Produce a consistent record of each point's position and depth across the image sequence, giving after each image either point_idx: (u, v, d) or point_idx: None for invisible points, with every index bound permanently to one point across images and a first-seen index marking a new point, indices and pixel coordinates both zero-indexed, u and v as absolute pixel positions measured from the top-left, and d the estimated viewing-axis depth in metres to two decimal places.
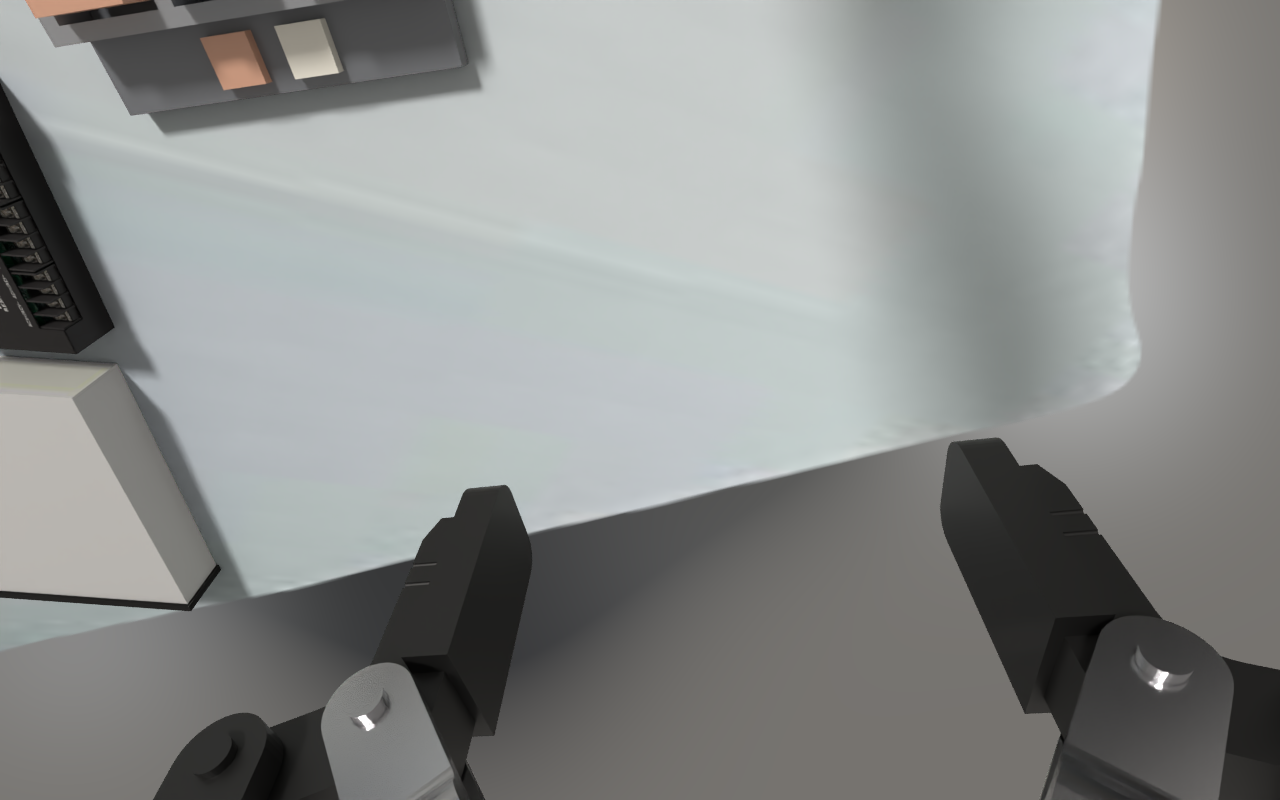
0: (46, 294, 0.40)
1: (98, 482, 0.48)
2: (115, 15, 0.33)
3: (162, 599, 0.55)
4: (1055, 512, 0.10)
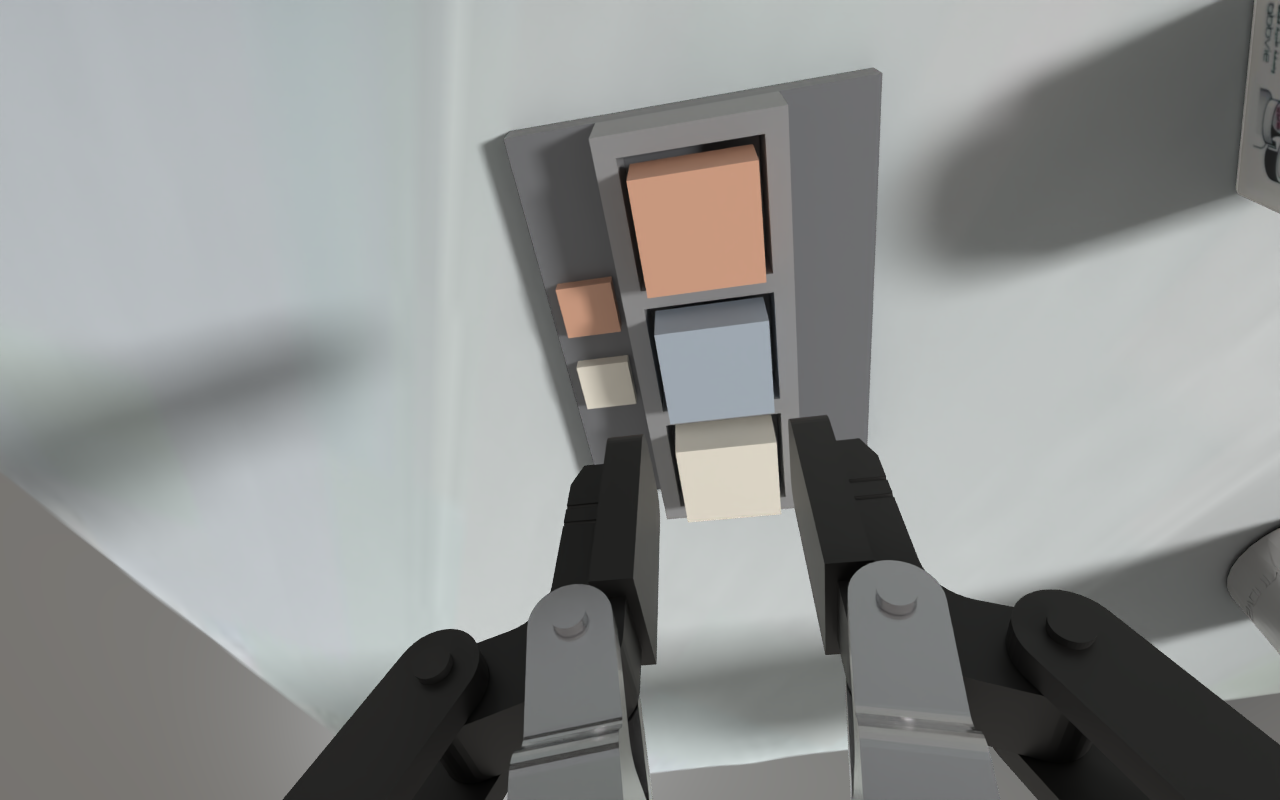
0: None
1: None
2: (627, 173, 0.25)
3: None
4: (862, 479, 0.11)
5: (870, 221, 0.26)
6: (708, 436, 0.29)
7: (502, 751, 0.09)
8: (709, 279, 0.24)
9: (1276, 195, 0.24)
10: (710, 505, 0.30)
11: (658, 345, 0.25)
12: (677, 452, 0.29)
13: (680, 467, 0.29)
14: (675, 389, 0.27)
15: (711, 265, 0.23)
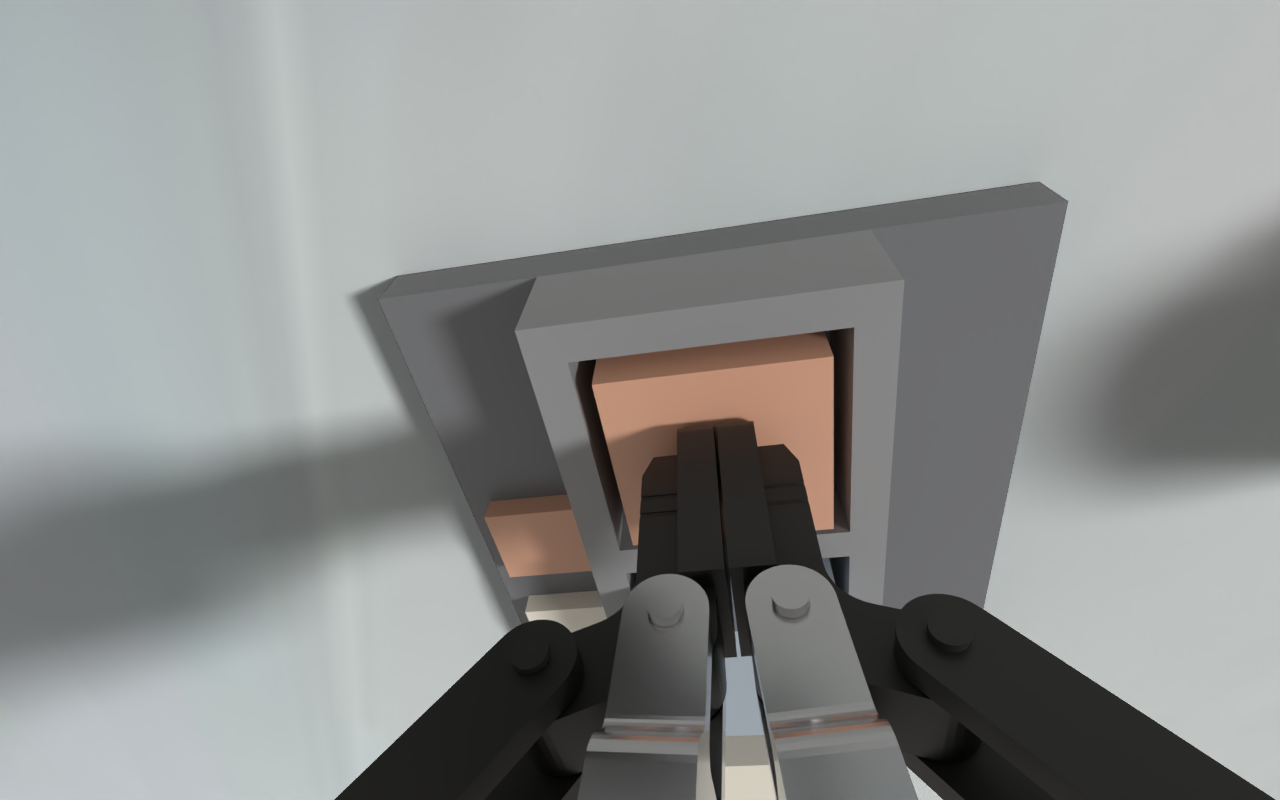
0: None
1: None
2: None
3: None
4: (781, 484, 0.11)
5: (1011, 427, 0.15)
6: None
7: None
8: None
9: None
10: None
11: None
12: None
13: None
14: None
15: None
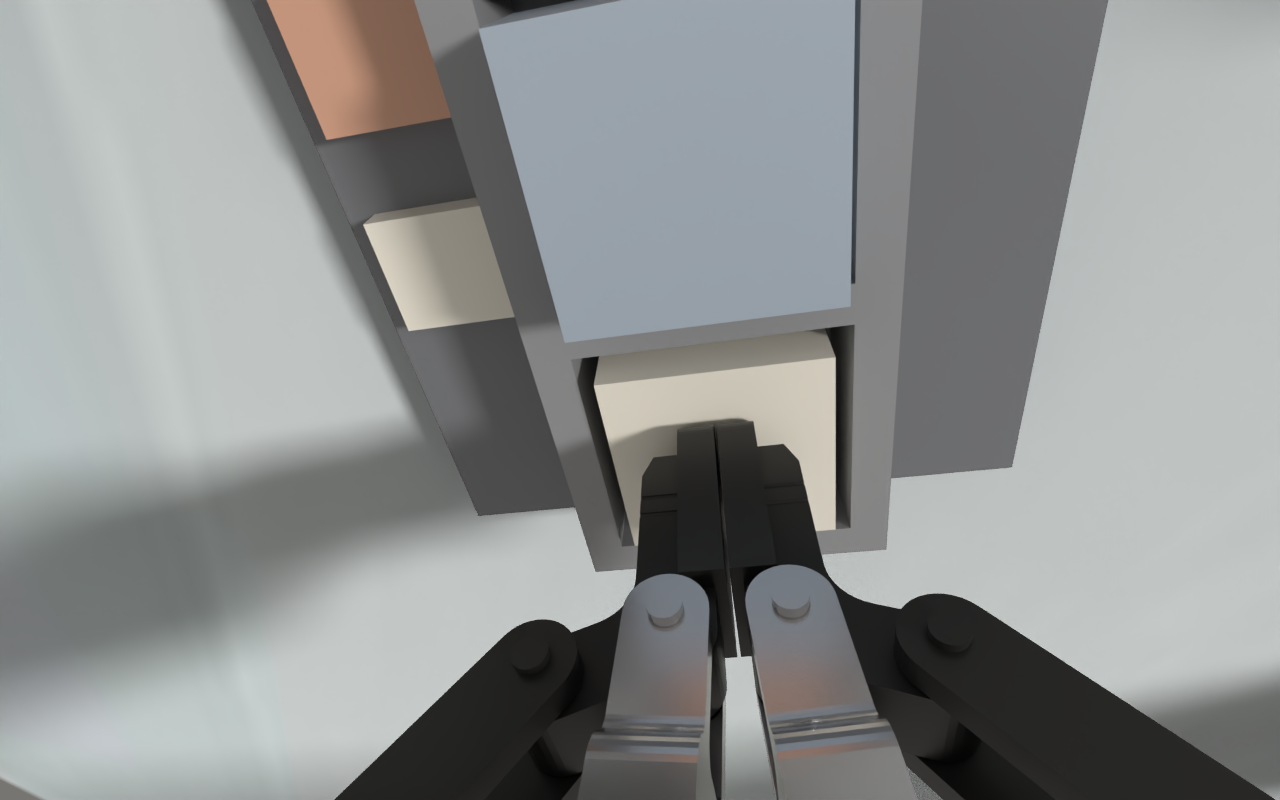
0: None
1: None
2: None
3: None
4: (781, 484, 0.11)
5: None
6: (673, 351, 0.13)
7: None
8: None
9: None
10: None
11: (497, 70, 0.08)
12: (598, 385, 0.12)
13: (608, 422, 0.13)
14: (566, 230, 0.09)
15: None
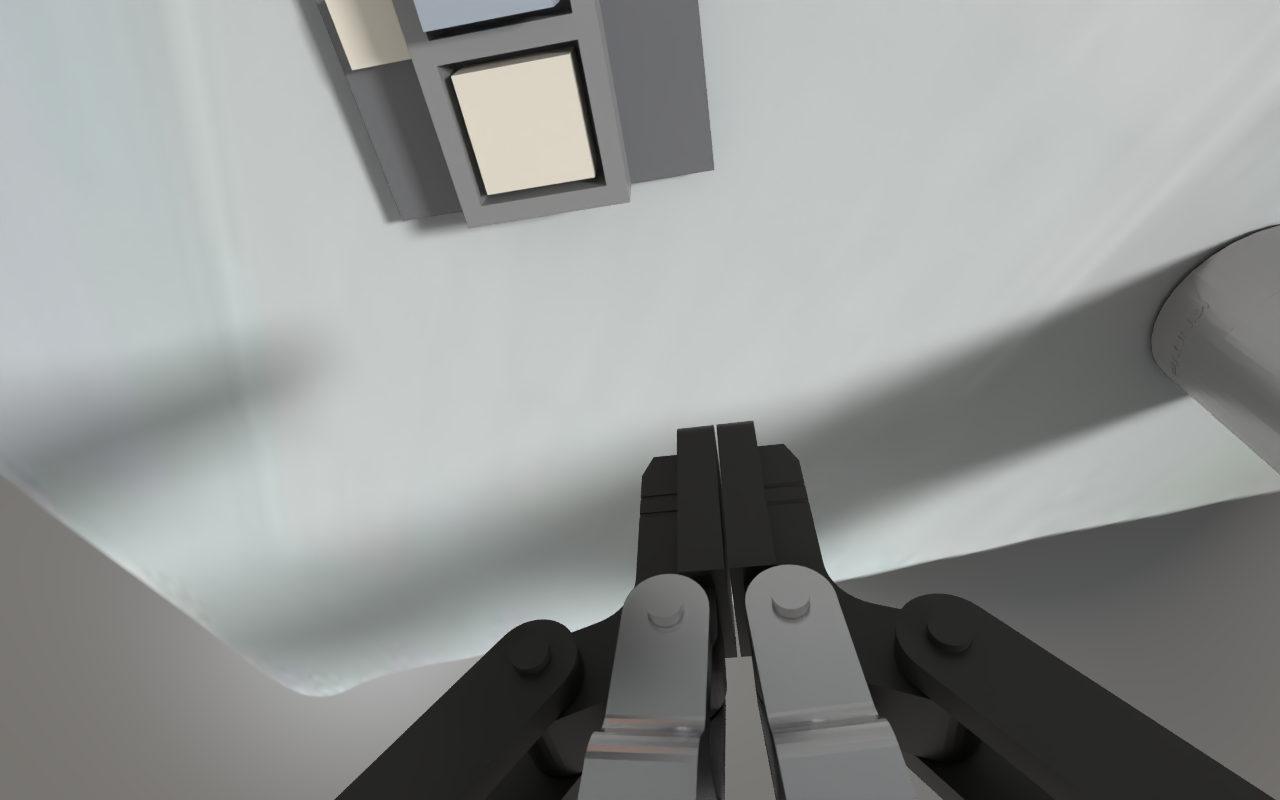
0: None
1: None
2: None
3: None
4: (781, 484, 0.11)
5: None
6: (495, 64, 0.24)
7: None
8: None
9: None
10: (508, 165, 0.25)
11: None
12: (453, 76, 0.24)
13: (461, 101, 0.24)
14: None
15: None
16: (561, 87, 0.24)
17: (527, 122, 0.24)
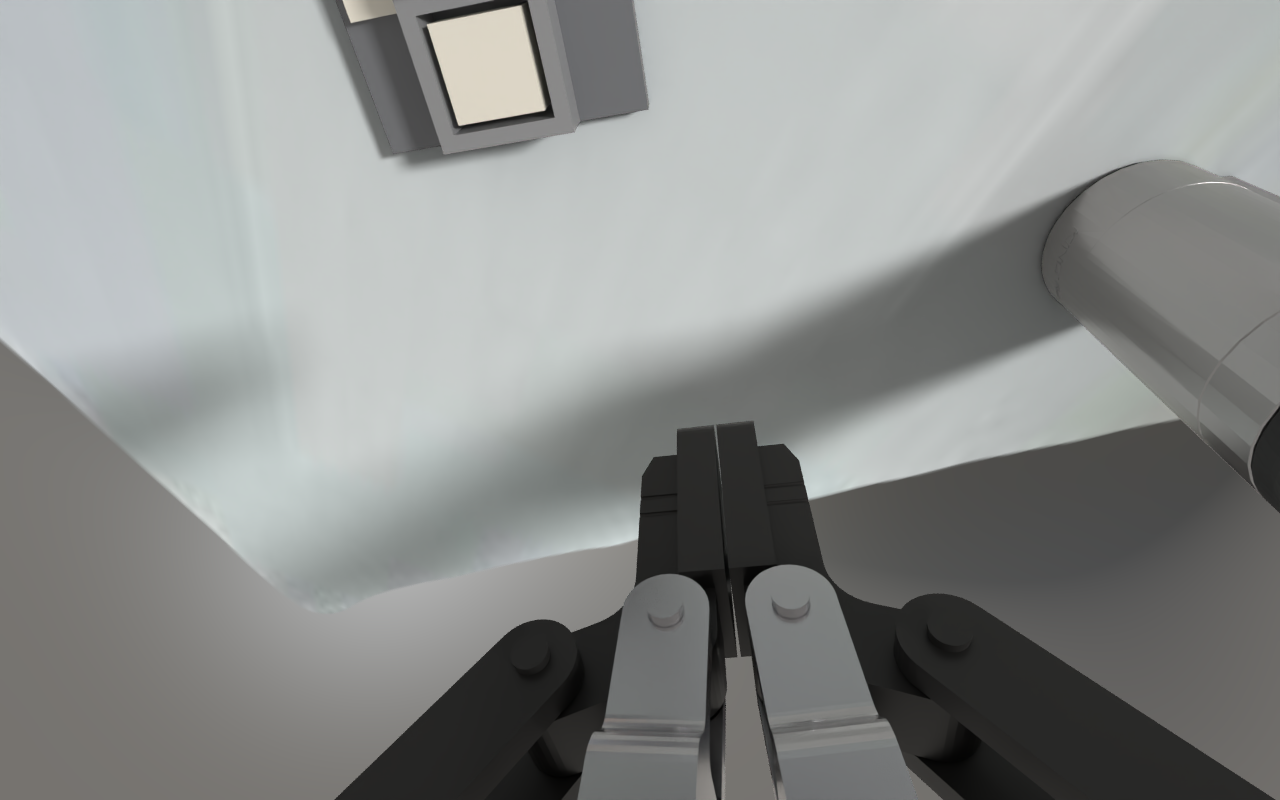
0: None
1: None
2: None
3: None
4: (781, 484, 0.11)
5: None
6: (463, 16, 0.30)
7: None
8: None
9: None
10: (475, 100, 0.31)
11: None
12: (429, 24, 0.29)
13: (435, 45, 0.30)
14: None
15: None
16: (514, 33, 0.30)
17: (488, 63, 0.30)
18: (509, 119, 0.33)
